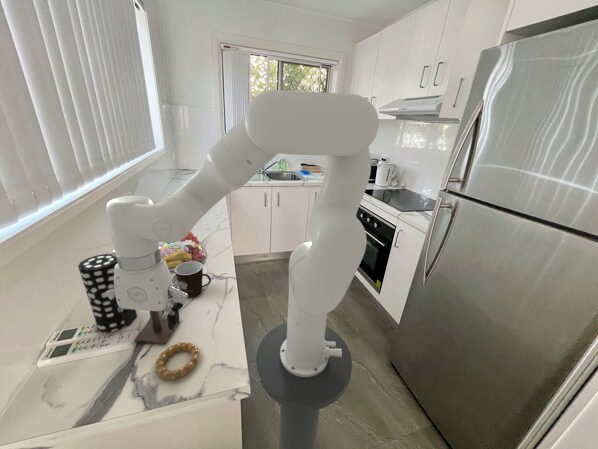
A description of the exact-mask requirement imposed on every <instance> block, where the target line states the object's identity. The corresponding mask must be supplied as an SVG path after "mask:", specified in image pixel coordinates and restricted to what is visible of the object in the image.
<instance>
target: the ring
mask: <svg viewBox="0 0 598 449" xmlns="http://www.w3.org/2000/svg"><path fill="white" fill-rule="evenodd" d="M180 351H187V352H188V353H189V354H190V357H191V358H190V359H189V361H188V362H187V363H186V364H184V366H182V367H179V368H177V369H175V370H174V369H167V368H166V367H165V362H166V361H167V359H168V358H169V357H170V356H172V355H173V354H175V353H177V352H180ZM200 355H201V354H200V351H199V347H198V346H196V345H195V344H193V342H179V343H176V344H172V345H170V346H169V347H167V348H166V349H165V350H163V351H162V352H161V353H160V354H159V356H158V358H157V359H156V361H155V363H154V368H155V370H154V371H155V374H156V375H157V376H158V377H160V379H162V380H172V381H175V380H178V379H180V378H182V377H185V376H187V375H188V374H189V373H190V372H191V371H192V370H194V369H195V368H196V366H197V363H198V362H199V360H200Z"/></svg>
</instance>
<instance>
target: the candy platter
mask: <svg viewBox="0 0 598 449" xmlns="http://www.w3.org/2000/svg"><path fill="white" fill-rule="evenodd" d="M186 241H191V242H193V243H185V242H186ZM160 248H161V254H162V259H163V260H165V262H166V264H167V266H168V269H169V271H170V272H175V268H176V267H177V266H178V265H180V264H182V263H184V262H189V261H197V262H200V263H202V262H201V260H205V255H204V253H203V252H204V250H203V247H202V245H201V244H200V240H199V239H198V237H197V236H196V235H194V233H193V232H192V231H190V232H189V233H188V235H187V236H186V237H185V238H184V239H182V240H180V241H178V242H175V243H163V242H160Z"/></svg>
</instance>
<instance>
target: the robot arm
mask: <svg viewBox="0 0 598 449" xmlns="http://www.w3.org/2000/svg"><path fill="white" fill-rule="evenodd" d="M379 127H380V121H379V115H378V112H377V109H376V107H375V106H374V105H373V103H372V102H371V101H370V100H368V99H367V98H366V97H364V96H361V95H359V94H356V93H355V94H354V93H343V92H342V93H341V92H321V91H319V92H317V91H301V90H300V91H299V90H285V89H269V90H264V91H262V92H260V93H258V94H256V96H254V97H253V98H252V100H250V101H249V103H248V106H247V107H246V110H245V114H244V115H243V116H242V117H241V118H240V119H239V120H238V121H237V122H236V123H235V124H234V125H233V126H232V127H231V128H230V129H229V130H228V131H227V132H225V134H224V135H222V137H221V138H219V140H217V142H216V143H214V144H213V145H212V146H211V147H210V148H208V150H207V152H206V153H205V155H204V157H203V161H202V164H201V165H200V167H199V168H198V169H197V170H196V171H195V173H194V174H193V175H192V176H191V177H190V178H189V179H187V181H186V182H184V184H182V186H181V187H179V188H178V189H177V190H176V191H175V192H174V193H173V194H171V195H169V196H168V197H166V198H165V199H163V200H161V201H158V202H155V203H154V202H153V200H152V199H151V198H149V197H147V196H144V195H124V196H118V197H115V198H112V199H110V200H108V201H107V202H106V205H105V213H106V218H107V221H108V222H107V223H108V226H109V231H110V235H111V240H112V244H113V249H114V250H113V251H112V252H111V254H112V256H113V257H117V262H118V264H116V265H115V269H114V287H112V288H110V289H109V290H107V291H106V292H105V294H106V295H107V297H108V298H109V299H111V303H112V304H114V305H115V306H116V307H118V309H117V310H118V311H119V312H122V316H123V320H124V324H125V327H127V328H128V327H130V326H131V325H132V324H133V323H134V321H135V320H137V319H138V315H137V311H158V312H161V311H165V312H166V313H167V315H166V319H167V321H168V327H169V329H170V330H172V329H173V328H174V326H175V325H176V324H177V323H178V322H179V323H180V312H179V311H180V310H181V309H182V308H183V307H184V305H185V304H186V302H187V300H188V299H189V298H188V296H189V295H188V294H186V293H184V292H182V291H181V289H178V288H176V287H174V283H173V278H172V275H171V271H169V269H168V266H167V264H166V262H165V260H163V259H162V254H161V248H160V243H162V242H163V243H175V242H178V241H180V240H182V239H184V238H185V237H186V236H187V235H188V233H189V232H192V230H193V228H194V227H195V226H196V225H197V223H198V222H200V220H201V219H202V218H203V217H205V215H206V214H207V213H208V212H209V211H210V210H211V209H212V208H214V206H216V205H217V204H218V203H219V202H220V201H222V199H223V198H225V197H226V196H227V195H229V194H230V193H231V192H235V191H237V190H240V189H241V188H242V187H244V186H245V185H246V184H248V183H249V181H251V180H252V179H253V178H254V177H255V176H256V175H257V174H258V173H259V172H260V171H261V170H263V168H265V167H266V166H267V164H269V163H270V162H271V161H272V160H273V159H274V158H276V156H278V155H279V154H284V155H295V156H297V155H299V156H326V168H325V172H324V175H323V179H322V182H321V185H320V187H319V190H318V193H317V196H316V198H315V200H314V202H313V205H312V208H311V210H310V213H309V214H308V218H307V222H306V226H307V232H308V235H309V239H310V241H306V242H302V243H300V244H298V245H297V246H295V248H294V249H293V251H291V254H290V257H289V260H288V301H287V302H288V303H287V339H286V340H285V341H284V342H283V344H282V346H281V349H280V359H281V362H282V364H283V366H284V367H285V368H286V370H288V371H289V372H290V373H292V374H294V375H296V376H299V377H312V376H315V375H317V374H319V373H321V372H322V371H323V370H324V369H325V367H326V365H327V363H328V358H329V356H334V357H342V349H329V347H336V342H327V341H326V340H325V330H326V326H327V321H328V313H330V312H332V311H333V310H335V309H336V308H337V307H338V306H339V304H341V302H342V301H343V299H344V297H345V295H346V293H347V291H348V289H349V287H350V285H351V283H352V281H353V279H354V277H355V275H356V273H357V271H358V269H359V268H360V264H361V262H362V260H363V258H364V256H365V253H366V248H367V242H368V241H367V240H368V239H367V233H366V232H367V231H366V230H365V227H364V225H363V224H362V222H361V220H360V219H359V218H358V217H357V214H358V211H359V208H360V206H361V203H362V201H363V197H364V195H365V193H366V190H367V187H368V184H369V182H370V178H371V170H372V158H371V152H370V146H371V145H372V144H373V142H374V141H375V140H376V138H377V136H378V131H379ZM176 299H177V300H178V301H177V300H176ZM179 323H178V324H179Z"/></svg>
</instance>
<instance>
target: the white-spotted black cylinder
mask: <svg viewBox="0 0 598 449" xmlns="http://www.w3.org/2000/svg"><path fill="white" fill-rule="evenodd" d="M116 264H118V262H117V257H113V256H112V253H103V254H98V255H97V254H96V255H93V256H91V257H88V258H85V259H84V260H82V261H81V262H79V263H78V265H77V268H78V271H79V274H80V277H81V280H82V284H83V286H84V289H85V293H86V296H87V299H88V301H89V305H90V309H91V310H92V314H93V317H94V321H95V324H96V326H97V330H98V331H99V332H101V333H113V332H117V331H119V330H122V329H123V328H125V327H126V326H125V324H124V320H123V316H122V312H119V311H118V310H117V309H118V307H116V306H115V305H114V304H112V303H111V299H109V298H108V297H107V295H106V294H105V292H106V291H107V290H109V289H110V288H112V287H114V269H115V265H116Z"/></svg>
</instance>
